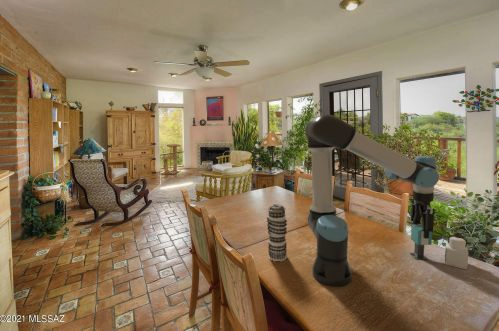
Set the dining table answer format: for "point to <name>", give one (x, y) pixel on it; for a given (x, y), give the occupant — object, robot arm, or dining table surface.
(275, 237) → the model tower building
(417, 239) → the teal cube
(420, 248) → the dark grey upright block
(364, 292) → the dining table surface
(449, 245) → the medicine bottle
